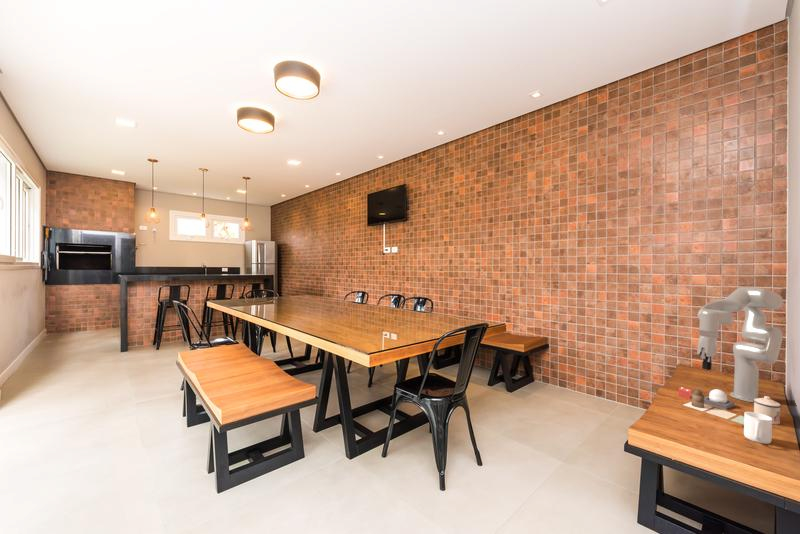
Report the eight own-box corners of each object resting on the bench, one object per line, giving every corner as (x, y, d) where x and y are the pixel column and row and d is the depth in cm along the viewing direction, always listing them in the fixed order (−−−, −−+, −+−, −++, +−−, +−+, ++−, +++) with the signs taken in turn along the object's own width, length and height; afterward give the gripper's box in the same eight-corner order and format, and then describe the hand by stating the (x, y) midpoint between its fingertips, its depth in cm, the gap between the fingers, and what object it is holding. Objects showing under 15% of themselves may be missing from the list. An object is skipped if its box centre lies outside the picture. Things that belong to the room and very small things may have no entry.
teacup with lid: (780, 427, 159) (781, 402, 159) (752, 420, 166) (752, 396, 166) (781, 419, 167) (781, 395, 167) (754, 413, 174) (755, 390, 174)
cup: (771, 439, 148) (772, 416, 148) (771, 449, 140) (772, 425, 140) (744, 432, 154) (745, 409, 154) (742, 441, 146) (743, 417, 146)
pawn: (694, 403, 182) (694, 387, 182) (706, 406, 178) (706, 390, 178) (689, 405, 180) (690, 388, 180) (701, 408, 176) (701, 392, 176)
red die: (679, 395, 195) (679, 386, 195) (690, 398, 192) (691, 388, 192) (678, 398, 192) (678, 388, 191) (690, 401, 188) (690, 390, 188)
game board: (691, 401, 187) (691, 399, 187) (768, 425, 160) (769, 423, 160) (678, 406, 181) (678, 404, 181) (757, 431, 154) (757, 429, 154)
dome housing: (710, 400, 189) (710, 395, 189) (734, 407, 180) (734, 402, 180) (701, 404, 184) (701, 398, 184) (725, 411, 175) (726, 405, 175)
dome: (712, 399, 187) (713, 386, 186) (729, 404, 180) (729, 390, 180) (706, 401, 183) (706, 388, 183) (723, 406, 177) (723, 393, 177)
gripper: (706, 332, 186) (704, 365, 186) (692, 333, 179) (690, 368, 179) (724, 334, 180) (722, 369, 180) (710, 336, 173) (709, 372, 173)
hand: (706, 369), depth 180 cm, fingers closed
